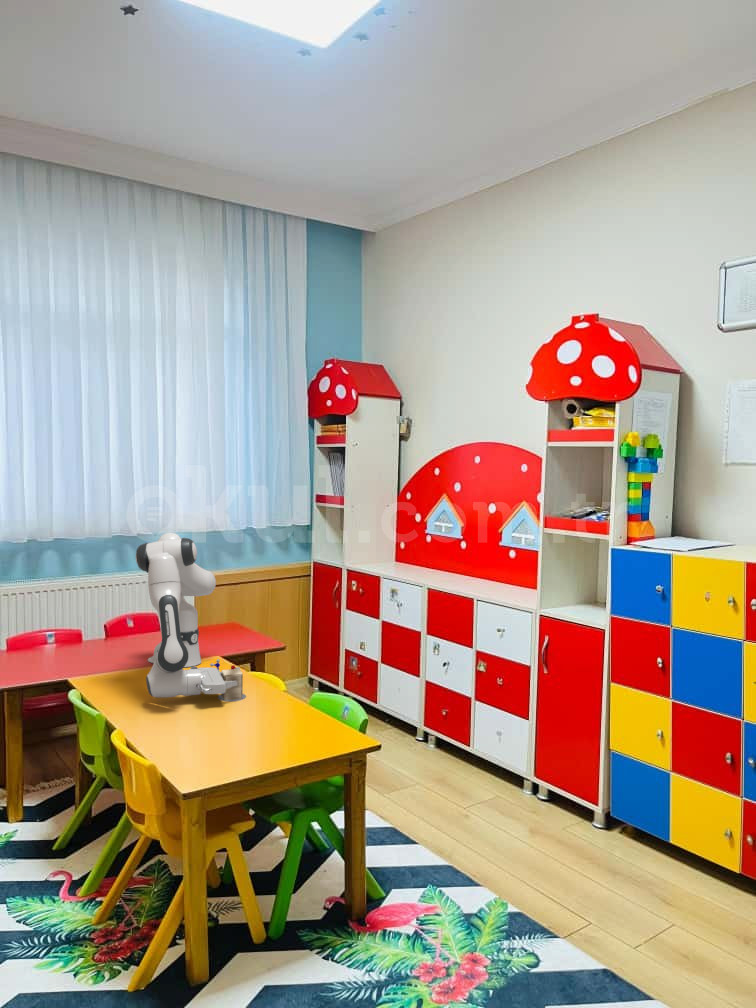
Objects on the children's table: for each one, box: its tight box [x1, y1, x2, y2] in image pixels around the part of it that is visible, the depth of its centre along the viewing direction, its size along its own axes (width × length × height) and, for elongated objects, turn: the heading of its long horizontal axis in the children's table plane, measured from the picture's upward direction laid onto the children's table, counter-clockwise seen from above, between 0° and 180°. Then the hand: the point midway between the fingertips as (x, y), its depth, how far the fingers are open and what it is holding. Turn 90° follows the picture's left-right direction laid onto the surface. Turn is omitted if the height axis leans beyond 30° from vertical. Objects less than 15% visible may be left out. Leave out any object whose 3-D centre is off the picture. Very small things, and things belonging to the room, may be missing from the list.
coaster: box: [217, 693, 247, 703], centre depth 278 cm, size 10×10×1 cm
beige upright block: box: [220, 668, 244, 700], centre depth 278 cm, size 6×6×9 cm
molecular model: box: [209, 658, 241, 672], centre depth 297 cm, size 12×10×10 cm
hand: (234, 679), depth 278 cm, fingers open, 8 cm apart
